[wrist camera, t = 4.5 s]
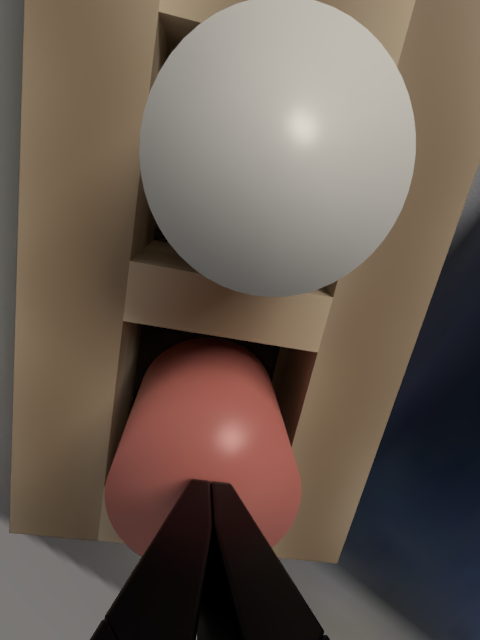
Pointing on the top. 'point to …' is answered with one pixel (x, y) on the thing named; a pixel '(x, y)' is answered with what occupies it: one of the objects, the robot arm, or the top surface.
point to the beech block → (192, 287)
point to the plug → (277, 146)
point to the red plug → (202, 441)
